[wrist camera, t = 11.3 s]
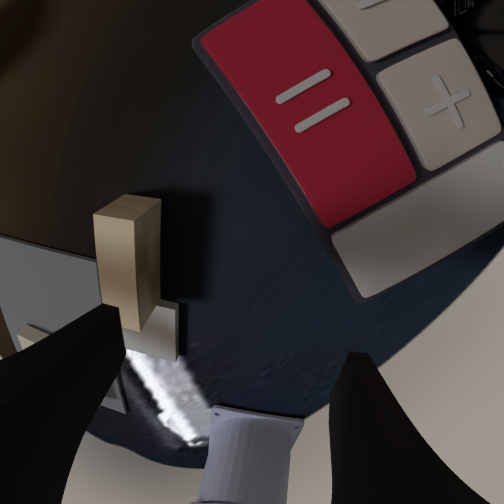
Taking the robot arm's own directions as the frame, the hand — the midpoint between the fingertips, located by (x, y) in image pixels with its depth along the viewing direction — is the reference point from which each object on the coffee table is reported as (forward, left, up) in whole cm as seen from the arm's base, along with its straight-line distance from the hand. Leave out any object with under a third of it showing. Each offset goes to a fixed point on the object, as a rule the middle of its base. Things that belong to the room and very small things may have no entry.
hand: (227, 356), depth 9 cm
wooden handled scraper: (-5, +7, -9) cm, 13 cm away
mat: (-13, +17, -9) cm, 24 cm away
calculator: (+8, -5, -10) cm, 14 cm away
